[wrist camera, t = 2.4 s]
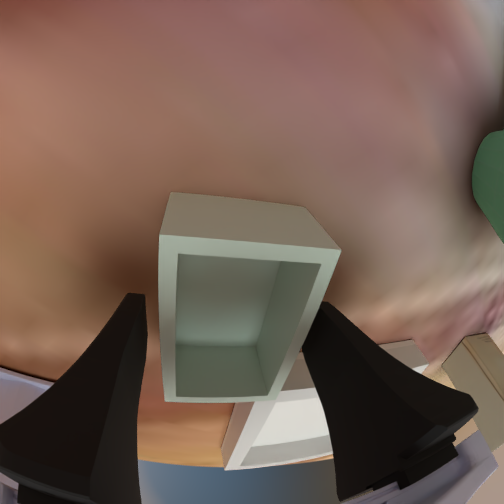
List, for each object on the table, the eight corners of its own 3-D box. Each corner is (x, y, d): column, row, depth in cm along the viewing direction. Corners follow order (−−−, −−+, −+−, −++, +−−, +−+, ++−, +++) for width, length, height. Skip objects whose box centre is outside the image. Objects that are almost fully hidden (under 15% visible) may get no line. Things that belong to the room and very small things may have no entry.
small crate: (166, 343, 13) (164, 401, 10) (171, 189, 10) (159, 234, 7) (261, 345, 15) (275, 399, 12) (302, 204, 11) (341, 250, 8)
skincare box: (486, 331, 22) (540, 406, 12) (465, 359, 24) (512, 432, 14) (463, 336, 20) (525, 427, 10) (438, 367, 22) (490, 455, 12)
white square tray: (221, 447, 22) (224, 470, 20) (249, 354, 14) (258, 392, 12) (334, 432, 25) (341, 451, 23) (412, 339, 17) (429, 363, 15)
